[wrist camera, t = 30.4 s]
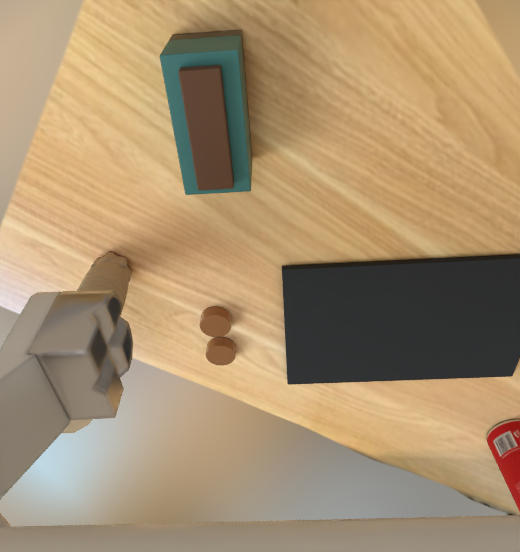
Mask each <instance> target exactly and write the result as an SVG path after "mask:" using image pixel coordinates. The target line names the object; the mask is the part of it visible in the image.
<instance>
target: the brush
mask: <svg viewBox="0 0 520 552" xmlns="http://www.w3.org/2000/svg"><path fill="white" fill-rule="evenodd" d="M160 60H161V66H162V71H163V76H164V82H165V87H166V92H167V98H168V103H169V109H170V114H171V119H172V125H173V130H174V135H175V141H176V146H177V152H178V157H179V162H180V168H181V173H182V178H183V184H184V189H185V194H186V195H190V194H208V193H226V192H244V191H251V176H252V149H251V137H250V125H249V113H248V101H247V88H246V76H245V64H244V52H243V40H242V30H229V31H215V32H201V33H187V34H173V35H172V37H171V38H170V40H169V42H168V43H167V45H166V46H165V48H164V50H163V51H162V53H161V54H160Z"/></svg>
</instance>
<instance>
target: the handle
mask: <svg viewBox="0 0 520 552" xmlns="http://www.w3.org/2000/svg"><path fill="white" fill-rule="evenodd" d="M127 261H128V260H127V259H126V258H125V257H121V256H118V255H116V254H114V253H111V252H109V253H107V254H106V255H105V256H104V257H101V258H97V259H96V260H95V262H94V263H93V265H92V266H91V269H90V270H89V272H88V273H87V275H86V276H85V278H84V279H83V281H82V283H81V285H80V286H79V288H78V290H77V291H104V290H113V291H115V292H117V293H118V295H119V297H120V300H121V302H122V305H123V306H124V303H125V299H126V295H127V290H128V283H129V281H130V277H131V270H130V269H129V267H128V265H127ZM122 309H123V307H122ZM121 312H122V310H121ZM120 315H121V313H120ZM91 421H92V419H85V420H70V424H69V425H68V426H67V427H66V428H65V430H64V431H63V432H62V433H74V432H76V431H78V430H80V429H82V428H83V427H85V426H87V425H88V424H89V423H90V422H91Z"/></svg>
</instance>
